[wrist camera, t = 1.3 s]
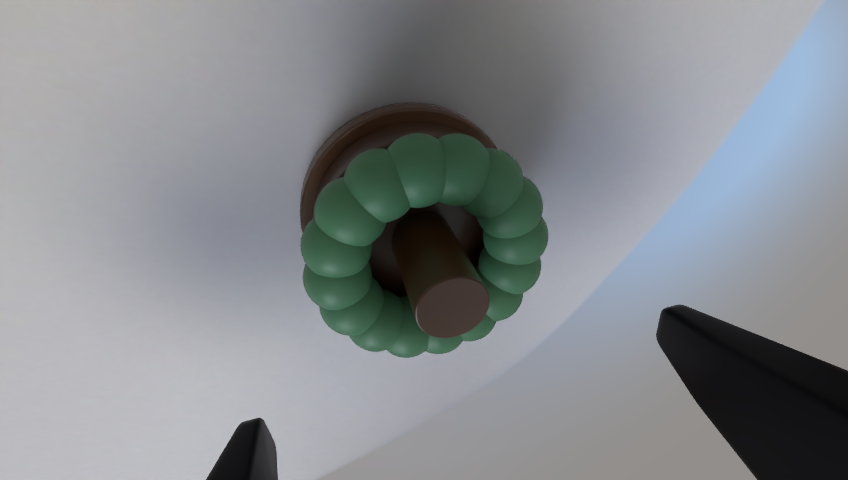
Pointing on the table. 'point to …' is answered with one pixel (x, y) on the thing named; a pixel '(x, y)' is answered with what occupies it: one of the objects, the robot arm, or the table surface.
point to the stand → (414, 222)
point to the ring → (389, 200)
